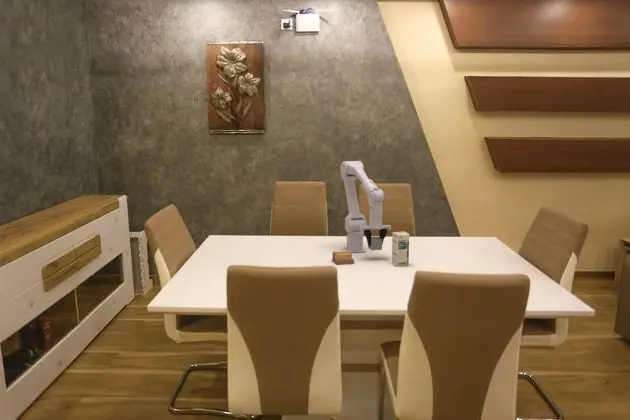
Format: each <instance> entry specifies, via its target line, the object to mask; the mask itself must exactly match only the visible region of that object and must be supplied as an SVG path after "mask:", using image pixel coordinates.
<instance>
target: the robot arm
mask: <svg viewBox="0 0 630 420" xmlns="http://www.w3.org/2000/svg"><path fill="white" fill-rule="evenodd" d="M339 169H340V176H341V180H343V185H344V191H345V197H346V202H347V209H348V214H347V216H346V217H345V218H344V229H345V231H346V233H347V235H346V246H345V247H344V250H347V251H349V252H350V253H351V254H352V253H366V250H365V249H364V235H365V238H366V242H367V247H368V246H371V237H372V235H373V234H372V233H373V232H372V231H378V232H379V233H378V234H379V236H378V237H380V238H381V239H382V245H383V244H384V240H385V238H386V236H387V234H388V233H389V232H388V231H391V230H392V225H391V224H383V204H384V202H385V201H386V193H385V191H384V190H383V189H380V188H378V186H377V184H376V183H375V182H374V181H373V180H372V179H370V178H369V177H368V176H367V173H366V172H365V170H364V169H365V168H364V164H363V162H362V161H361V160H352V161H351V160H350V161H349V160H348V161H347V160H345V161H342V162H341V164H340V167H339ZM357 179H358V180H359V181H360V183H361V188H362V189H363V191H364V193H365V194H366V195H367V196H366V197H367V202H368V207H369V220H368V221H369V224H368V223H367V222H368V221H367V220H366V216H365V215H364V214H363V213H361V212H360V208H359V207H360V206H359V200H358V194H357V188H356V182H355V181H356V180H357Z"/></svg>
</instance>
